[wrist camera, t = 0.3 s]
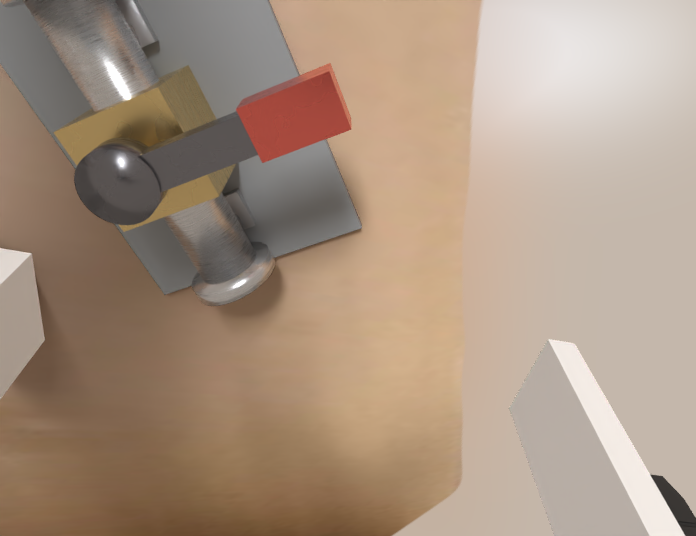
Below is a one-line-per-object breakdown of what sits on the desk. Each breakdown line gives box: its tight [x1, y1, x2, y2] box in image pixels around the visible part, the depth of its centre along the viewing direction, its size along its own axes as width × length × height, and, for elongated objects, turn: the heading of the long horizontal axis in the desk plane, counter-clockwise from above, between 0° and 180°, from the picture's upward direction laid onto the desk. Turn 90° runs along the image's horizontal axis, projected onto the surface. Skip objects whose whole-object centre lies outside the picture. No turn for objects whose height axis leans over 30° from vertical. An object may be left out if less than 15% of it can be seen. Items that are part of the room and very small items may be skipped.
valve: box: [0, 0, 275, 306], centre depth 32 cm, size 22×7×8 cm, turn 21°
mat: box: [0, 0, 362, 295], centre depth 36 cm, size 24×18×1 cm
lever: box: [74, 63, 351, 225], centre depth 27 cm, size 15×4×2 cm, turn 111°
